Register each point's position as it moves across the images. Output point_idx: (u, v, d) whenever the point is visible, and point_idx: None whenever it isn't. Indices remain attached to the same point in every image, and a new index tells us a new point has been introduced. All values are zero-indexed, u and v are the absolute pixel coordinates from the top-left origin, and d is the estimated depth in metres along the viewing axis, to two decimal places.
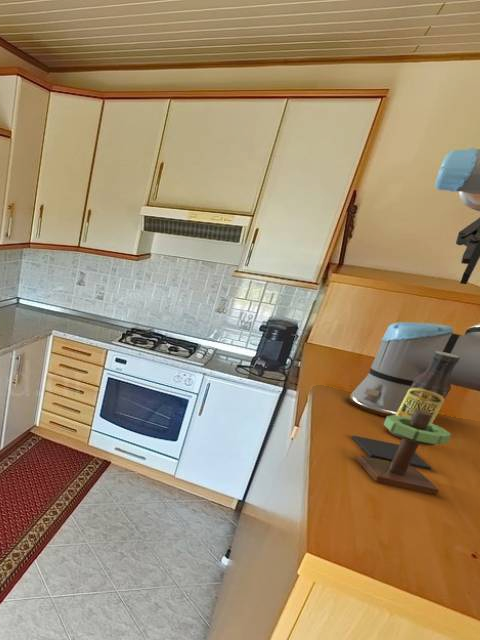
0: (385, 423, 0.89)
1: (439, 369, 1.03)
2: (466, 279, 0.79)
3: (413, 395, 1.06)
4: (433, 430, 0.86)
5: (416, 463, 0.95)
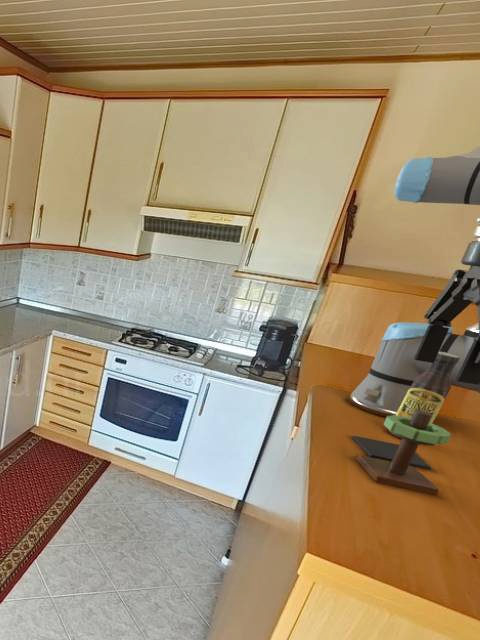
0: (385, 423, 0.89)
1: (439, 369, 1.03)
2: (424, 361, 0.89)
3: (413, 395, 1.06)
4: (433, 430, 0.86)
5: (416, 463, 0.95)
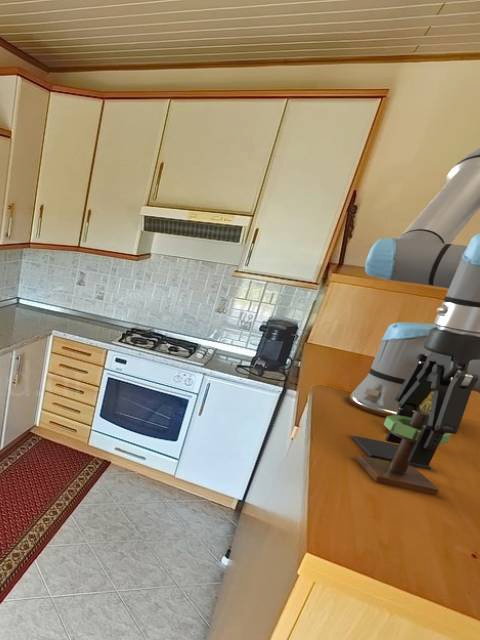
0: (385, 423, 0.89)
1: None
2: (395, 442, 0.92)
3: None
4: None
5: None
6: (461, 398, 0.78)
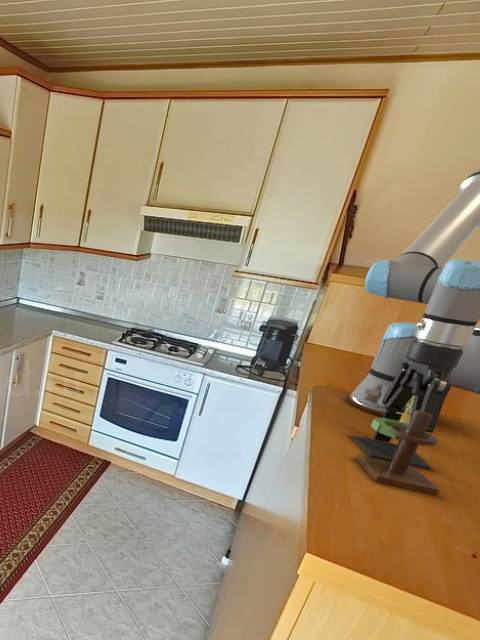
0: (372, 425, 1.01)
1: None
2: (381, 440, 1.04)
3: (413, 395, 1.06)
4: None
5: (416, 463, 0.95)
6: (437, 402, 0.90)
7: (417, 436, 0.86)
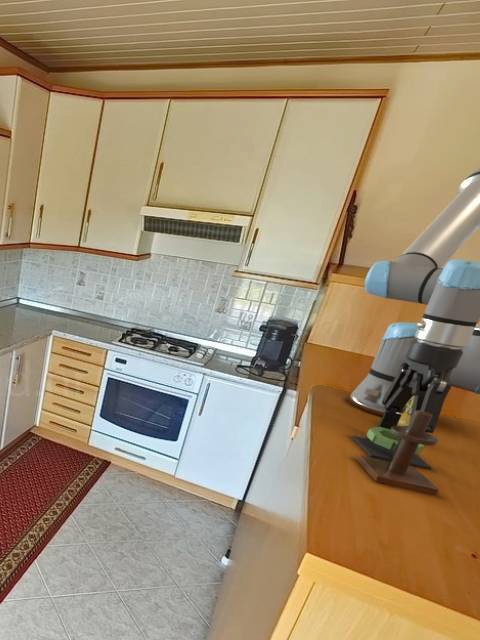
0: (368, 434, 1.02)
1: None
2: None
3: (413, 395, 1.06)
4: None
5: (416, 463, 0.95)
6: (437, 402, 0.90)
7: (417, 436, 0.86)
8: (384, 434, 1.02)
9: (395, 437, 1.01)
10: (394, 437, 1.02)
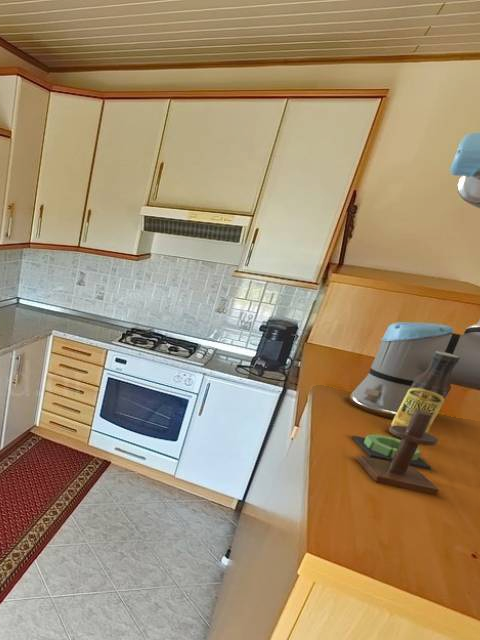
0: (365, 441, 1.02)
1: (439, 369, 1.03)
2: None
3: (413, 395, 1.06)
4: None
5: (416, 463, 0.95)
6: None
7: (417, 436, 0.86)
8: (381, 441, 1.03)
9: (392, 444, 1.02)
10: (391, 444, 1.02)
